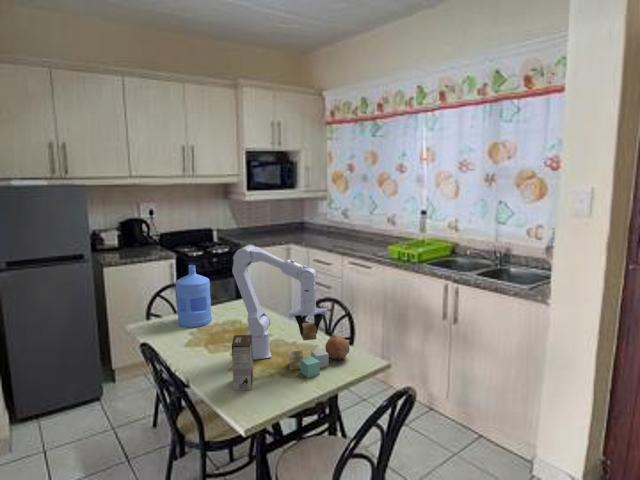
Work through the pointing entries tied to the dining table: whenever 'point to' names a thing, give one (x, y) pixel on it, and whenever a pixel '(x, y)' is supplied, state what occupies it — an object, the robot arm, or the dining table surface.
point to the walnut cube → (309, 331)
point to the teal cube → (310, 367)
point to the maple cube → (295, 359)
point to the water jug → (193, 300)
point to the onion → (337, 347)
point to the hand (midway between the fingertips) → (308, 333)
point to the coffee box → (242, 362)
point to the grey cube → (321, 357)
